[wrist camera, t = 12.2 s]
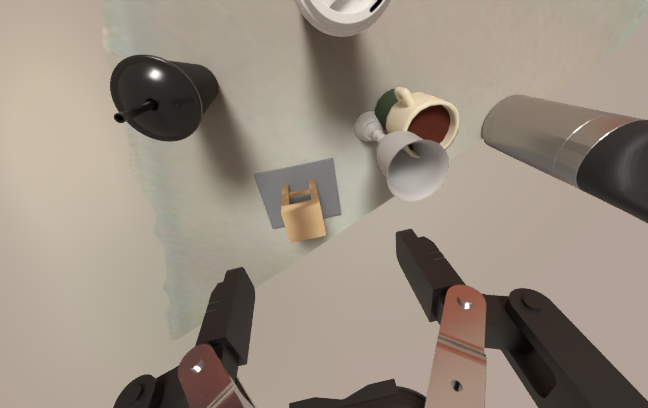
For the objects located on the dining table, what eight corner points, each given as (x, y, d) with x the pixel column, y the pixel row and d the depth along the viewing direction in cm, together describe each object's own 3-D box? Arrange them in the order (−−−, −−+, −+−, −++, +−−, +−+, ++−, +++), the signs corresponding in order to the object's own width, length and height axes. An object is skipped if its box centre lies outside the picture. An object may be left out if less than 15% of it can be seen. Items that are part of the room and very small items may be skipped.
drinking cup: (164, 97, 35) (53, 142, 18) (175, 40, 31) (52, 31, 15) (219, 121, 37) (167, 180, 21) (235, 70, 34) (187, 92, 17)
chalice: (394, 135, 42) (454, 183, 27) (359, 154, 43) (398, 211, 28) (380, 95, 38) (440, 126, 23) (341, 117, 40) (376, 160, 24)
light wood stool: (314, 178, 44) (320, 205, 37) (319, 205, 47) (326, 235, 40) (281, 185, 44) (281, 213, 37) (289, 212, 47) (290, 243, 40)
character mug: (424, 121, 42) (473, 147, 31) (389, 147, 43) (423, 180, 33) (395, 63, 36) (442, 69, 25) (356, 95, 38) (384, 114, 27)
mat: (332, 158, 43) (332, 159, 43) (340, 212, 50) (341, 214, 49) (254, 174, 43) (253, 175, 42) (273, 226, 49) (272, 228, 49)
